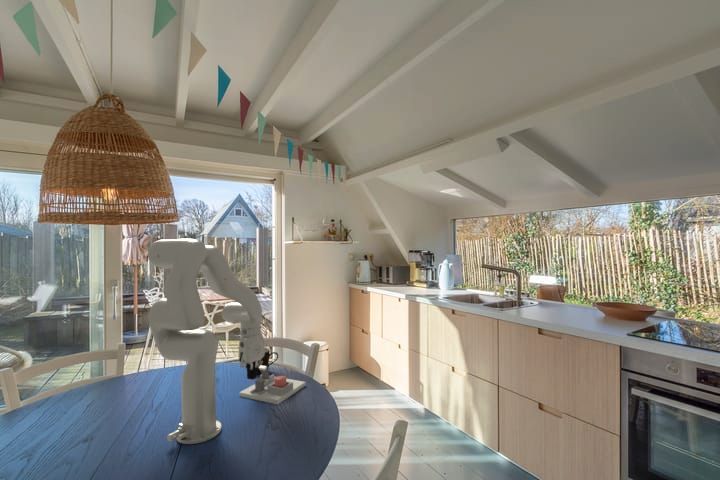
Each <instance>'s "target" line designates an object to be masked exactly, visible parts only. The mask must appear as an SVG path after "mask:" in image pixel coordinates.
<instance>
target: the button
mask: <svg viewBox="0 0 720 480" xmlns="http://www.w3.org/2000/svg"><path fill="white" fill-rule="evenodd" d="M274 377H275V379H274V380H275V387H279V388H283V387H284V386H286V379H287V376H285V375H279V376H278V375H277V376H274Z"/></svg>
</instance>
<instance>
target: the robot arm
mask: <svg viewBox="0 0 720 480" xmlns="http://www.w3.org/2000/svg"><path fill="white" fill-rule="evenodd" d="M147 256H148V260H149V262H150V263H151V264H152V265H153V266H154V267H155V268H159V269H166V270H170V271H169V272H168V274H167V276H166V278H165V280H164V284H163V291H164V296H165V298H162V299H158V300H157V301H155V302H153V304H152V305H151V307H150V309H149V311H148V318H147V319H148V320H147V321H148V325H149V328H150V330H151V334H152V337H153V339H154V342H155V345H156V348H157V351H158V353H159V354H160V356H161V357H162V358H164V359H166V360H169V361H179V362H187V365H186V367H185V368H184V370H183V372H182V374H181V378H180V388H181V389H180V390H181V391H180V392H181V393H180V394H181V422H180V423H179V424H178V428H177V429H176V430H175V431H173V432H171V433H169V434H168V435H166V440H167V442H172V441H174V440H176V441H177V442H178V443H180V444H183V445H195V444H201V443H204V442H207V441H209V440H212V439H213V438H215V437H217V436H218V434H220V433H221V431H222V422H220V421H219V420H217V408H216V407H217V403H216V402H217V401H216V399H217V397H216V395H217V394H216V361H217V354H218V349H219V338H218V336H217V335H216V334H215V333H214V332H213V331H211V330H208V329H201V328H202V326H203V324H204V323H205V319H206V318H205V317H206V314H205V310H204V308H203V307H204V306H203V303H202V299H201V296H200V293H199V289H198V284H197V279H198V275H199V272H200V273H201V274H202V275H203V277H204V279H205V280H206V283H208V286H209V287H210V289H211V291H212V293H215V294H217V295H218V296H221V297H223V298H226V299H229V300H232V301H231V302H228V303H226V304H225V305H224V306H223V307H222V309H221V317H222V319H223V320H224V321H225V322H227V323H231V324H233V323H234V324H240V331H239V335H240V336H239V340H238V342H239V343H238V362H239V363H240V366H239V367H240V368H245V369H246V377H247V379H248V380H252V381H253V380H255V379H256V378H257V375H256V368H257V364H258V362H259V361H260V360H261V359H262V358H263V357H264V355H265V350H264V348H265V341H264V336H263V332H262V331H261V330H262V329H261V328H262V326H261V323H262V322H261V318H262V317H263V316H262V315H263V308H262V305H261V301H260V300H259V298H258V296H257V294H256V292H254V290H253V289H251V288H250V287H249V286H247V285H246V284H245V283H243V282H242V281H241V280H239V279H237V278H236V277H235V275H234V272H233V271H232V268H231V267H230V264H229V263H228V260H227V259H226V257H225V255H224V253H223V251H222V250H221V248H219V247H217V246H215V245H210V244H209V245H206V244H205V243H204V242H203V241H202V240H200V239H195V238H177V239H175V238H173V239H172V238H171V239H159V240H156V241H154V242H152V244H151V245H150V246H149V248H148V251H147Z"/></svg>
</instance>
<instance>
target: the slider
mask: <svg viewBox="0 0 720 480" xmlns="http://www.w3.org/2000/svg"><path fill="white" fill-rule="evenodd" d="M254 384H255V392H261V391H263V390H265V384H264V380H262V379H260V378H259V379H257V380H255V381H254Z"/></svg>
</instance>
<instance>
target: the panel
mask: <svg viewBox="0 0 720 480" xmlns="http://www.w3.org/2000/svg"><path fill="white" fill-rule="evenodd" d="M275 377H276V376H275V374H274V373H273V374H271V375H270V376H269V377H268V380H267V379H264V378H263V376H262V374H261V375H259V379H262V380H264V384H265V390H263V391H261V392H255V383H254V384H252V385H251V386H248V387H247V388H245V389H243V390H241V391H239V395H238V396H239V397H241V398H246V399H251V400H255V401H260V402H264V403H270V404H275V405H279V404H280V403H282V402H283V401H285V400H287V399H288V398H289V397H291V396H292V395H294V394H296V393H297V392H298V391H300V390H301V389H303V388H304V387H306V381H303V380H302V381H301V380H296V379H291V378H286V386H284V387H283V388H279V387H275V380H274V379H275Z"/></svg>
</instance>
